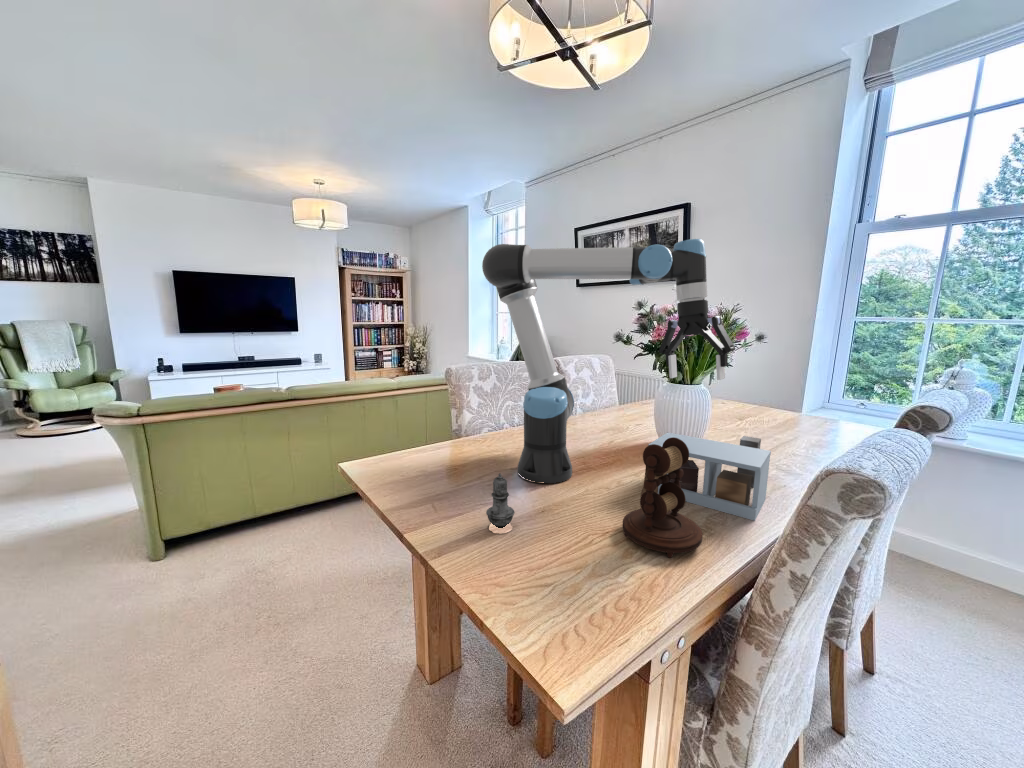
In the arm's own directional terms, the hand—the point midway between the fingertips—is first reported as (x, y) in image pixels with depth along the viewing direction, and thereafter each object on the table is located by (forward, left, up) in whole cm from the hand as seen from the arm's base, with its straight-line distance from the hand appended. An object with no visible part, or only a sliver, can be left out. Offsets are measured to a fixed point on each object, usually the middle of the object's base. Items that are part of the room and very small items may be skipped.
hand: (696, 378), depth 112 cm
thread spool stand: (-24, -34, -26) cm, 50 cm away
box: (-10, -14, -27) cm, 31 cm away
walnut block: (+4, -17, -26) cm, 31 cm away
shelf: (-5, -16, -26) cm, 31 cm away
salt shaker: (-56, -27, -26) cm, 67 cm away
